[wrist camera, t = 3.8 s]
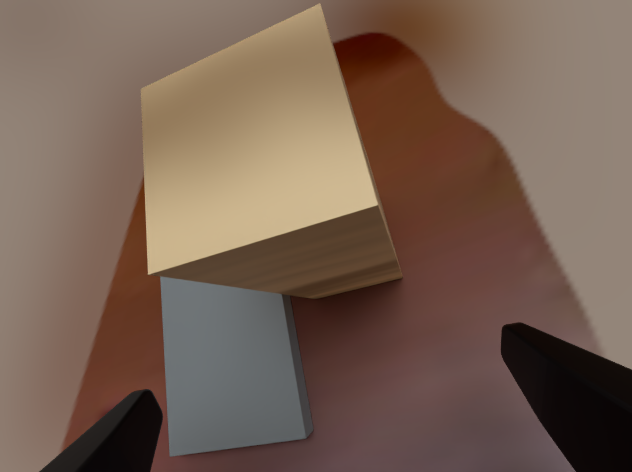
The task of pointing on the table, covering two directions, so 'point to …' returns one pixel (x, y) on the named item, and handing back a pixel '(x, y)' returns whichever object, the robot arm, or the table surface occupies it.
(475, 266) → the table surface
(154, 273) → the block
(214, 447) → the slate board
